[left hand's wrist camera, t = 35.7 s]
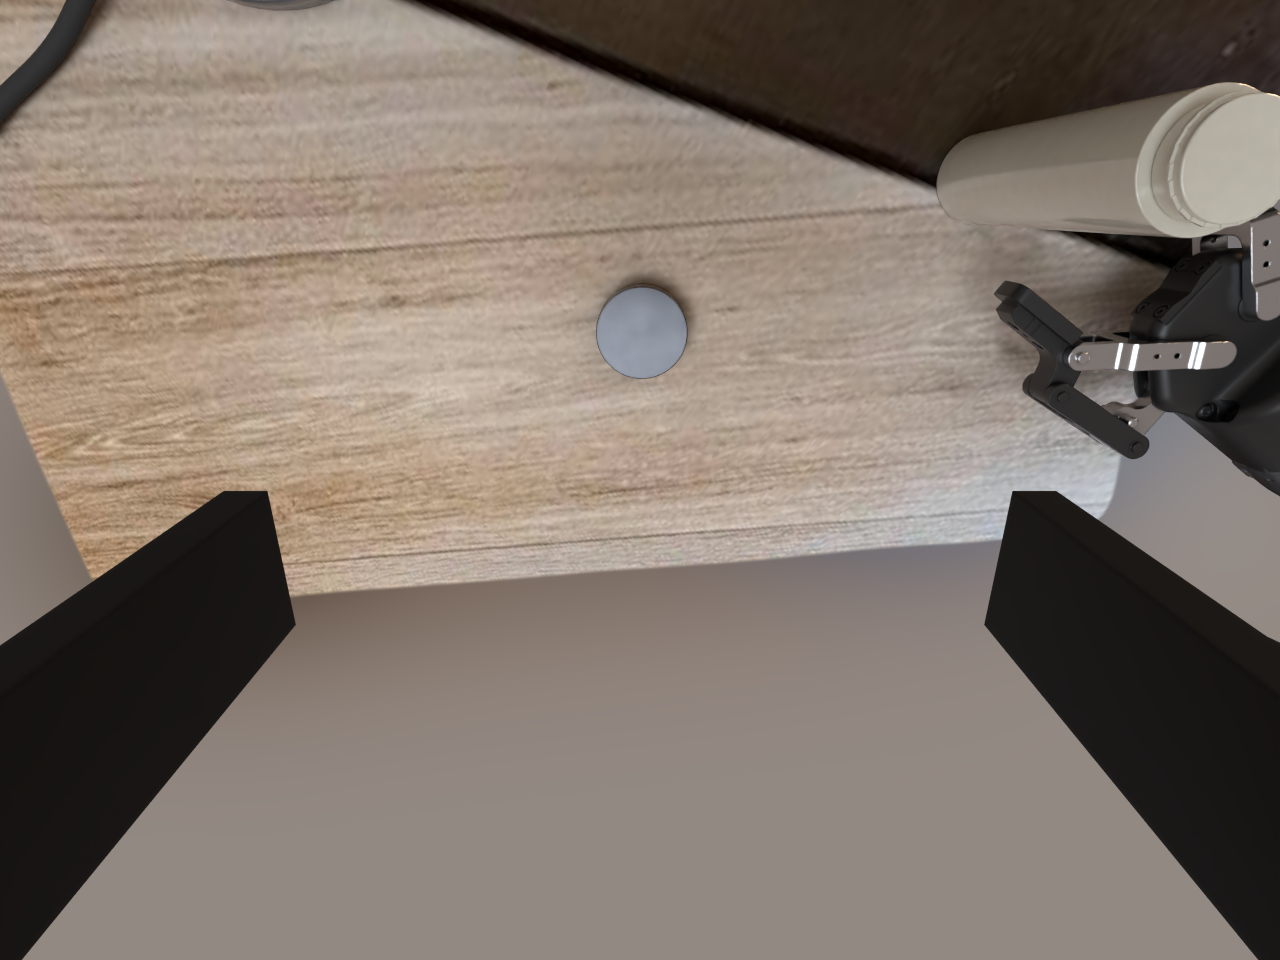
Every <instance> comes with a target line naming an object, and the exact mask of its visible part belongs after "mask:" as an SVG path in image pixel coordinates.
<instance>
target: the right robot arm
mask: <svg viewBox="0 0 1280 960" xmlns="http://www.w3.org/2000/svg"><path fill="white" fill-rule="evenodd" d="M1227 235H1233V236H1236V237H1237V238H1238V239H1239V240H1240V242H1241V245H1242V248H1228V240H1227ZM1192 253H1193V256H1192V257H1190V258H1189V257H1182V259H1181V260H1180V261H1179V262H1178V263H1177V264H1176V265H1175V266H1174V267H1173V268H1172V269H1171V270H1170V272H1169V273H1168V275H1167V277H1166V278H1165V280H1164V282H1163V283H1162V285H1161V286H1160V288H1159V289H1158V290H1156V291H1155V292H1153V293H1152V294H1151V295H1149V296H1148V297H1146V298H1145V299H1144V300H1143V301H1142V302H1141V303H1140V304H1139V305H1138V306H1137V307H1136V308H1135V309H1134V310H1133V311H1132V312H1131V314H1132V315H1133V316H1134V318H1133V321H1132V323H1131V326H1130V330H1111V331H1092V332H1090V333H1089V334H1083V332H1082V331H1081V330H1079V329H1078V328H1077V327H1076V326H1074V325H1073V324H1072V323H1071V322H1070V321H1068V320H1067V319H1066V318H1065V317H1064V316H1062V315H1061V314H1060V313H1059V312H1058V311H1056V310H1055V309H1054V308H1053V307H1051V306H1050V305H1049V304H1048V303H1047V302H1045V301H1044V300H1043V299H1042V298H1041V297H1039V296H1038V295H1037V294H1036V293H1034V292H1033V291H1032V290H1031V289H1029V288H1028V287H1026V286H1024V285H1022V284H1019V283H1015V282H1010V281H1004V282H1003V283H1002V285H1001V286H1000V287H999V288H998V289H997V290H996V292H995V293H994V295H995V296H996V297H997V298H999V299H1000V300H1001V301H1002V303H1001V304H1000V305H999V307H998V308H997V309H996V311H997V313H998V315H999V317H1000V319H1001V320H1002V321H1003V322H1005V323H1006V324H1007V325H1008V326H1010V327H1011V328H1012V329H1013V330H1015V331H1016V332H1017V333H1018V334H1020V335H1021V336H1022V337H1023V338H1025V339H1026V340H1027V341H1028V342H1030V343H1031V344H1032V345H1033V346H1035V347H1036V348H1037V349H1038V351H1039V354H1040V361H1039V364H1038V367H1037V369H1036V371H1035V373H1033V374H1030V375H1029V376H1028V377H1027V378H1026V379H1025V380H1024V382H1023V391H1024V393H1025V394H1026V395H1028V396H1029V397H1031V398H1032V399H1034V400H1035V401H1037V402H1038V403H1040V404H1041V405H1043V406H1044V407H1046V408H1047V409H1049V410H1050V411H1052V412H1053V413H1055V414H1056V415H1058V416H1059V417H1061V418H1062V419H1064V420H1065V421H1067V422H1068V423H1070V424H1071V425H1073V426H1074V427H1076V428H1077V429H1079V430H1080V431H1082V432H1083V433H1085V434H1086V435H1088V436H1089V437H1091V438H1092V439H1094V440H1095V441H1097V442H1099V443H1100V444H1102V445H1104V446H1106V447H1108V448H1110V449H1112V450H1114V451H1116V452H1118V453H1120V454H1122V455H1123V456H1125V457H1127V458H1130V459H1137V458H1139V457H1141V456H1143V455H1144V454H1145V453H1146V452H1147V450H1148V448H1149V440H1148V439H1147V438H1146V437H1145V436H1144V435H1145V434H1146V432H1147V431H1148V430H1149V429H1150V428H1151V427H1152V426H1153V425H1154V424H1155V423H1156V421H1157V420H1158V419H1159V418H1160V417H1161V416H1162V415H1163V414H1164V413H1165V412H1174V413H1175V414H1176V415H1177V416H1179V417H1180V418H1181V419H1182V420H1184V421H1185V422H1186V423H1187V424H1188V425H1190V426H1191V427H1192V428H1193V429H1194V430H1196V431H1197V432H1198V433H1199V434H1201V435H1202V436H1203V437H1204V438H1205V439H1207V440H1208V441H1209V442H1210V443H1212V444H1213V445H1214V446H1215V447H1217V448H1218V449H1219V450H1220V451H1221V452H1222V453H1224V454H1225V455H1226V456H1227V457H1228V458H1230V459H1231V460H1232V461H1233V462H1232V463H1233V464H1234V465H1235V466H1236V467H1237V468H1238V469H1240V470H1241V471H1242V472H1243V473H1244V474H1245V475H1247V476H1250V477H1252V478H1254V479H1255V480H1257V481H1258V482H1259V483H1260V484H1262V485H1263V486H1264V487H1266V488H1267V489H1269V490H1270V491H1272V492H1274V493H1275V494H1277V495H1279V496H1280V213H1279V211H1278V210H1276V209H1275V208H1274V207H1270V208H1269V209H1268V210H1266V211H1265V212H1263V213H1262V214H1261V215H1259V216H1258V217H1257V218H1254V219H1252V220H1249V221H1247V222H1245V223H1243V224H1240V225H1238V226H1231V227H1226V228H1224V229H1221V230H1219V231H1217V232H1215V233H1212V234H1209V235H1206V236H1201V237H1195V238H1192ZM1109 369H1118V370H1125V371H1133V378H1134V389H1135V393H1136V395H1137V397H1138V399H1137V400H1136V401H1135V402H1133V403H1130V404H1122V403H1119V402H1110V403H1108V404H1106V405H1101V406H1100V405H1098V404H1097V403H1095V402H1094V401H1092V400H1091V399H1089V398H1088V397H1086V396H1085V395H1084V394H1082V393H1081V392H1079V391H1078V390H1076V389H1075V388H1073V386H1074V384H1075V382H1076V380H1077V378H1078V376H1079V374H1080V372H1081V371H1087V370H1109Z"/></svg>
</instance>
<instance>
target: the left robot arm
mask: <svg viewBox="0 0 1280 960" xmlns="http://www.w3.org/2000/svg"><path fill="white" fill-rule="evenodd" d="M229 1H232V2H235V3H238V4H241V5H245V6H249V7H254V8H258V9H268V10H296V9H304V8H309V7H313V6H317V5H321V4H324V3H326V2H329V1H332V0H229ZM95 2H96V0H66V2H65V4H64V6H63V8H62V11H61V13H60V15H59V17H58V19H57V21H56V22H55V24H54V26H53V28H52V29H51V31H50V32H49V34H48V35H47V37H46V38H45V40H44V41H43V42H42V44H41V45H40V46H39V47H38V48H37V50H36V51H35V52H34V53H33V54H32V55H31V56H30V57H29V59H28V60H27V61H26V62H25V63H24V64H23V65H22V66H21V67H19V68H18V69H17V70H16V71H15V72H14V73H13V74H12V75H11V76H10V77H9V78H8V79H7V80H6V81H5V82H4V83H3V84H2V85H0V125H1V124H2V122H3V121H4V120H5V119H6V118H7V117H8V116H9V114H10V113H11V112H12V111H13V110H14V109H15V108H16V107H17V106H18V105H19V104H20V103H21V102H22V101H23V100H24V99H25V98H26V97H27V96H28V95H30V94H31V93H32V92H33V91H34V90H35V89H36V88H37V87H38V86H39V85H40V84H41V83H42V82H43V81H44V80H46V79H47V78H48V76H49V75H50V74H51V73H52V72H53V71H54V70H55V69H56V68H57V67H58V66H59V64H60V63H61V62H62V61H63V59H64V58H65V57H66V56H67V54H68V53H69V51H70V50H71V48H72V47H73V45H74V44H75V42H76V40H77V39H78V37H79V35H80V33H81V31H82V29H83V27H84V25H85V23H86V21H87V19H88V17H89V15H90V13H91V10H92V8H93V6H94V4H95ZM295 625H296V624H295V619H294V614H293V610H292V605H291V600H290V596H289V591H288V586H287V581H286V577H285V572H284V567H283V563H282V558H281V553H280V548H279V544H278V539H277V534H276V529H275V525H274V520H273V515H272V511H271V506H270V501H269V496H268V492H267V491H223V492H222V493H220V494H219V495H217V496H216V497H215V498H213V499H212V500H210V501H209V502H207V503H206V504H204V505H203V506H201V507H200V508H199V509H197V510H196V511H194V512H193V513H191V514H190V515H188V516H187V517H186V518H184V519H183V520H181V521H180V522H178V523H177V524H175V525H174V526H173V527H171V528H170V529H168V530H167V531H165V532H164V533H162V534H161V535H159V536H158V537H157V538H155V539H154V540H152V541H151V542H149V543H148V544H146V545H145V546H144V547H142V548H141V549H139V550H138V551H136V552H135V553H133V554H132V555H131V556H129V557H128V558H126V559H125V560H123V561H122V562H120V563H119V564H118V565H116V566H115V567H113V568H112V569H110V570H109V571H107V572H106V573H104V574H103V575H102V576H100V577H99V578H97V579H96V580H94V581H93V582H91V583H90V584H89V585H87V586H86V587H84V588H83V589H81V590H80V591H78V592H77V593H76V594H74V595H73V596H71V597H70V598H68V599H67V600H65V601H64V602H63V603H61V604H60V605H58V606H57V607H55V608H54V609H52V610H51V611H50V612H48V613H47V614H45V615H44V616H42V617H41V618H39V619H38V620H37V621H35V622H34V623H32V624H31V625H29V626H28V627H26V628H25V629H23V630H22V631H21V632H19V633H18V634H16V635H15V636H13V637H12V638H10V639H9V640H8V641H6V642H5V643H3V644H2V645H0V960H22V959H23V958H24V956H25V955H26V954H27V953H28V952H29V950H30V949H31V948H32V947H33V945H34V944H35V943H36V942H37V940H38V939H39V938H40V937H41V936H42V934H43V933H44V932H45V931H46V929H47V928H48V927H49V926H50V925H51V923H52V922H53V921H54V920H55V918H56V917H57V916H58V915H59V914H60V912H61V911H62V910H63V909H64V907H65V906H66V905H67V904H68V903H69V901H70V900H71V899H72V898H73V896H74V895H75V894H76V893H77V891H78V890H79V889H80V888H81V887H82V885H83V884H84V883H85V882H86V881H87V879H88V878H89V877H90V876H91V874H92V873H93V872H94V871H95V870H96V868H97V867H98V866H99V865H100V863H101V862H102V861H103V860H104V859H105V857H106V856H107V855H108V854H109V852H110V851H111V850H112V849H113V848H114V846H115V845H116V844H117V843H118V841H119V840H120V839H121V838H122V837H123V835H124V834H125V833H126V832H127V830H128V829H129V828H130V827H131V825H132V824H133V823H134V822H135V821H136V819H137V818H138V817H139V816H140V814H141V813H142V812H143V811H144V810H145V808H146V807H147V806H148V805H149V803H150V802H151V801H152V800H153V799H154V797H155V796H156V795H157V794H158V793H159V791H160V790H161V789H162V788H163V786H164V785H165V784H166V783H167V782H168V780H169V779H170V778H171V777H172V775H173V774H174V773H175V772H176V770H177V769H178V768H179V767H180V766H181V764H182V763H183V762H184V761H185V759H186V758H187V757H188V756H189V755H190V753H191V752H192V751H193V750H194V748H195V747H196V746H197V745H198V744H199V742H200V741H201V740H202V739H203V737H204V736H205V735H206V734H207V733H208V731H209V730H210V729H211V728H212V726H213V725H214V724H215V723H216V721H217V720H218V719H219V718H220V717H221V715H222V714H223V713H224V712H225V711H226V709H227V708H228V707H229V706H230V704H231V703H232V702H233V701H234V700H235V698H236V697H237V696H238V695H239V693H240V692H241V691H242V690H243V689H244V687H245V686H246V685H247V684H248V682H249V681H250V680H251V679H252V677H253V676H254V675H255V674H256V673H257V671H258V670H259V669H260V668H261V667H262V665H263V664H264V663H265V662H266V660H267V659H268V658H269V657H270V655H271V654H272V653H273V652H274V651H275V649H276V648H277V647H278V646H279V644H280V643H281V642H282V641H283V640H284V638H285V637H286V636H287V635H288V634H289V632H290V631H291V630H292V629H293V627H294V626H295ZM984 625H985V626H986V627H987V629H988V630H989V631H990V632H991V633H992V635H993V636H994V637H995V638H996V640H997V641H998V642H999V643H1000V645H1001V646H1002V647H1003V648H1004V649H1005V651H1006V652H1007V653H1008V654H1009V655H1010V657H1011V658H1012V659H1013V660H1014V662H1015V663H1016V664H1017V665H1018V667H1019V668H1020V669H1021V670H1022V671H1023V673H1024V674H1025V675H1026V676H1027V678H1028V679H1029V680H1030V681H1031V682H1032V684H1033V685H1034V686H1035V687H1036V689H1037V690H1038V691H1039V692H1040V693H1041V695H1042V696H1043V697H1044V698H1045V699H1046V701H1047V702H1048V703H1049V704H1050V706H1051V707H1052V708H1053V709H1054V710H1055V712H1056V713H1057V714H1058V715H1059V717H1060V718H1061V719H1062V720H1063V722H1064V723H1065V724H1066V725H1067V726H1068V728H1069V729H1070V730H1071V731H1072V733H1073V734H1074V735H1075V736H1076V737H1077V739H1078V740H1079V741H1080V742H1081V744H1082V745H1083V746H1084V747H1085V748H1086V750H1087V751H1088V752H1089V753H1090V755H1091V756H1092V757H1093V758H1094V759H1095V761H1096V762H1097V763H1098V764H1099V766H1100V767H1101V768H1102V769H1103V770H1104V772H1105V773H1106V774H1107V775H1108V777H1109V778H1110V779H1111V780H1112V782H1113V783H1114V784H1115V785H1116V786H1117V788H1118V789H1119V790H1120V791H1121V792H1122V794H1123V795H1124V796H1125V797H1126V799H1127V800H1128V801H1129V802H1130V804H1131V805H1132V806H1133V807H1134V808H1135V810H1136V811H1137V812H1138V813H1139V815H1140V816H1141V817H1142V818H1143V819H1144V821H1145V822H1146V823H1147V824H1148V826H1149V827H1150V828H1151V829H1152V830H1153V832H1154V833H1155V834H1156V835H1157V837H1158V838H1159V839H1160V840H1161V841H1162V843H1163V844H1164V845H1165V846H1166V847H1167V849H1168V850H1169V851H1170V852H1171V854H1172V855H1173V856H1174V857H1175V858H1176V860H1177V861H1178V862H1179V863H1180V865H1181V866H1182V867H1183V868H1184V870H1185V871H1186V872H1187V873H1188V874H1189V876H1190V877H1191V878H1192V879H1193V881H1194V882H1195V883H1196V884H1197V885H1198V887H1199V888H1200V889H1201V890H1202V892H1203V893H1204V894H1205V895H1206V896H1207V898H1208V899H1209V900H1210V901H1211V902H1212V904H1213V905H1214V906H1215V907H1216V909H1217V910H1218V911H1219V912H1220V914H1221V915H1222V916H1223V917H1224V918H1225V920H1226V921H1227V922H1228V923H1229V925H1230V926H1231V927H1232V928H1233V929H1234V931H1235V932H1236V933H1237V934H1238V936H1239V937H1240V938H1241V939H1242V940H1243V942H1244V943H1245V944H1246V945H1247V947H1248V948H1249V949H1250V950H1251V951H1252V953H1253V954H1254V955H1255V956H1256V958H1257V959H1258V960H1280V643H1279V642H1277V641H1275V640H1273V639H1271V638H1269V637H1267V636H1265V635H1264V634H1262V633H1261V632H1259V631H1258V630H1257V629H1255V628H1254V627H1252V626H1251V625H1249V624H1248V623H1246V622H1245V621H1244V620H1242V619H1241V618H1239V617H1238V616H1236V615H1235V614H1233V613H1232V612H1231V611H1229V610H1228V609H1226V608H1225V607H1223V606H1222V605H1220V604H1219V603H1217V602H1216V601H1215V600H1213V599H1212V598H1210V597H1209V596H1207V595H1206V594H1204V593H1203V592H1202V591H1200V590H1199V589H1197V588H1196V587H1194V586H1193V585H1191V584H1190V583H1188V582H1187V581H1186V580H1184V579H1183V578H1181V577H1180V576H1178V575H1177V574H1176V573H1174V572H1173V571H1171V570H1170V569H1168V568H1167V567H1165V566H1164V565H1162V564H1161V563H1160V562H1158V561H1157V560H1155V559H1154V558H1152V557H1151V556H1149V555H1148V554H1147V553H1145V552H1144V551H1142V550H1141V549H1139V548H1138V547H1136V546H1135V545H1134V544H1132V543H1131V542H1129V541H1128V540H1126V539H1125V538H1123V537H1122V536H1121V535H1119V534H1118V533H1116V532H1115V531H1113V530H1112V529H1110V528H1109V527H1107V526H1106V525H1105V524H1103V523H1102V522H1100V521H1099V520H1097V519H1096V518H1094V517H1093V516H1092V515H1090V514H1089V513H1087V512H1086V511H1084V510H1083V509H1081V508H1080V507H1079V506H1077V505H1076V504H1074V503H1073V502H1071V501H1070V500H1068V499H1067V498H1065V497H1064V496H1063V495H1061V494H1060V493H1058V492H1057V491H1013V492H1012V496H1011V501H1010V506H1009V511H1008V515H1007V520H1006V525H1005V529H1004V534H1003V539H1002V544H1001V548H1000V553H999V558H998V563H997V567H996V572H995V577H994V581H993V586H992V591H991V596H990V600H989V605H988V610H987V614H986V619H985V624H984Z"/></svg>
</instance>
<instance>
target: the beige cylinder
mask: <svg viewBox="0 0 1280 960" xmlns="http://www.w3.org/2000/svg"><path fill="white" fill-rule="evenodd" d="M937 194H938V199H939V202H940V204H941V206H942V208H943V209H944V211H945V212H946V213H947V214H948V215H949V216H950V217H951V218H952V219H954V220H956V221H958V222H960V223H964V224H971V225H986V226H1002V227H1018V228H1033V229H1049V230H1065V231H1081V232H1096V233H1112V234H1128V235H1143V236H1159V237H1175V238H1195V237H1201V236H1206V235H1209V234H1212V233H1215V232H1217V231H1219V230H1221V229H1224V228H1226V227H1231V226H1238V225H1240V224H1243V223H1245V222H1247V221H1249V220H1252V219H1254V218H1257V217H1258V216H1259V215H1261V214H1262V213H1263V212H1265V211H1266V210H1268V209H1269V208H1270V207H1273V206H1274V205H1275V203H1276V202H1277V201H1278V200H1279V199H1280V96H1277V95H1275V94H1270V93H1263V92H1260V91H1259V90H1257V89H1255V88H1254V87H1251V86H1248V85H1246V84H1241V83H1236V82H1224V83H1216V84H1211V85H1206V86H1201V87H1197V88H1192V89H1187V90H1182V91H1177V92H1173V93H1168V94H1163V95H1158V96H1153V97H1149V98H1144V99H1139V100H1134V101H1129V102H1125V103H1120V104H1115V105H1110V106H1105V107H1101V108H1096V109H1091V110H1086V111H1081V112H1077V113H1072V114H1067V115H1062V116H1057V117H1053V118H1048V119H1043V120H1038V121H1033V122H1029V123H1024V124H1019V125H1014V126H1009V127H1005V128H1000V129H995V130H990V131H985V132H981V133H977V134H973V135H971V136H968V137H967V138H965V139H963V140H962V141H960V142H959V143H958V144H956V145H955V146H954V147H953V148H952V149H951V151H950V152H949V153H948V154H947V156H946V157H945V159H944V161H943V163H942V165H941V167H940V170H939V173H938V178H937Z"/></svg>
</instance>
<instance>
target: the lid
mask: <svg viewBox="0 0 1280 960" xmlns="http://www.w3.org/2000/svg"><path fill="white" fill-rule="evenodd" d="M596 338H597V344H598V347H599V350H600V352H601V354H602V356H603V358H604V359H605V360H606V362H607V363H608V364H609V365H610V366H611V367H612V368H613V369H615V370H616V371H617V372H619V373H621V374H623V375H625V376H628V377H632V378H638V379H645V378H652V377H656V376H658V375H661V374H663V373H665V372H666V371H668V370H669V369H670V368H672V367H673V366H674V365H675V364H676V362H677V361H678V360H679V359H680V357H681V355H682V354H683V351H684V349H685V346H686V342H687V323H686V319H685V317H684V314H683V311H682V309H681V307H680V305H679V304H678V302H677V301H676V300H675V299H674V297H673V296H672V295H670V294H669V293H668V292H667V291H665V290H663V289H662V288H659V287H657V286H654V285H649V284H634V285H630V286H627V287H624V288H622V289H620V290H619V291H617V292H616V293H614V294H613V295H612V296H611V297H610V298H609V299H608V300H607V302H606V303H605V305H604V306H603V308H602V310H601V313H600V315H599V318H598V322H597V328H596Z"/></svg>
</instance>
